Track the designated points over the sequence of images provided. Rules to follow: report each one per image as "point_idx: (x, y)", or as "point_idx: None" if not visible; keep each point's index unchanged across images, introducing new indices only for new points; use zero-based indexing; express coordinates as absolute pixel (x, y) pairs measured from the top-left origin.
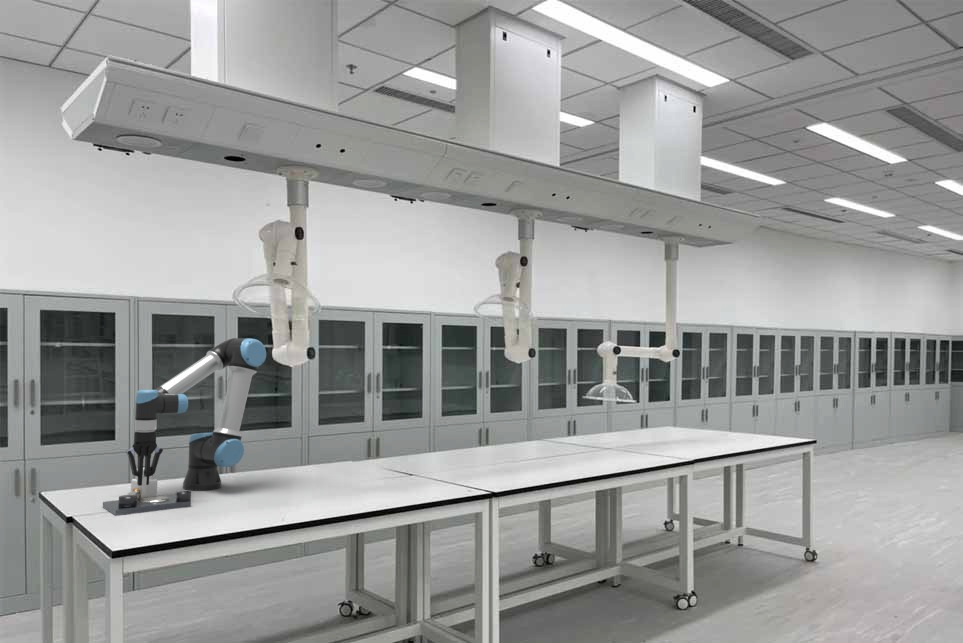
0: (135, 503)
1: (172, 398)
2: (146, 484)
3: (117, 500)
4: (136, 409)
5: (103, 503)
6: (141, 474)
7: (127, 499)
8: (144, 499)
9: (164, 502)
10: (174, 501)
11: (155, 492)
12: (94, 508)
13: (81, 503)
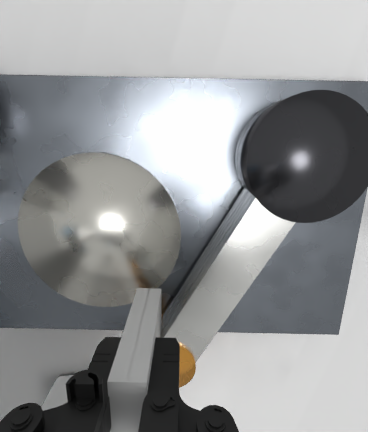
0: (262, 110)
1: None
2: (119, 339)
3: (269, 327)
4: None
5: (337, 320)
6: (154, 414)
7: (338, 96)
8: (153, 258)
9: (70, 129)
10: (7, 121)
11: (52, 397)
12: (361, 315)
13: (354, 428)
